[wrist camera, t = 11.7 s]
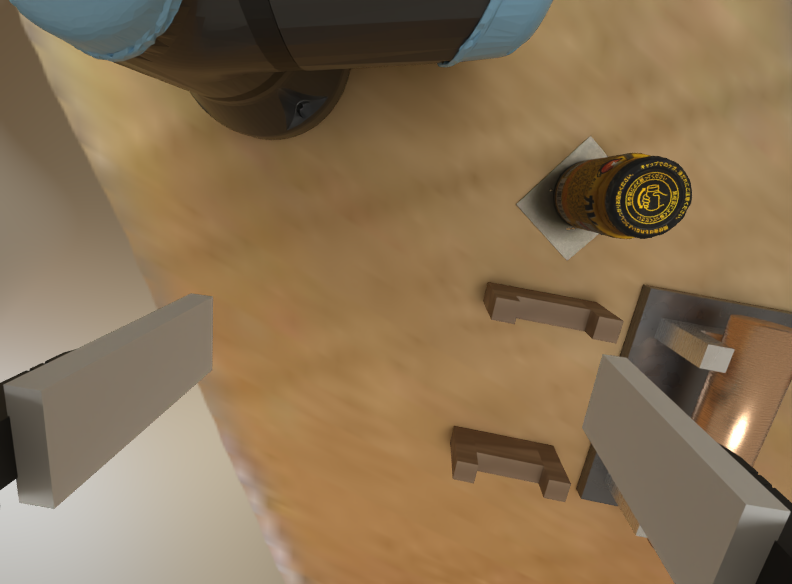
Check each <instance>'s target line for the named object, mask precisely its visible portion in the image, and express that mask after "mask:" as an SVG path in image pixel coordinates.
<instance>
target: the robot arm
mask: <svg viewBox="0 0 792 584" xmlns="http://www.w3.org/2000/svg"><path fill="white" fill-rule="evenodd" d="M9 1H10V2H11V3H12V4H13V5H14V6H16V7H17V9H18V10H19V12H20V13H21V14H22V15H24V16H25V17H26V18H27V19H29V20H30V21H31V22H33V23H34V24H35V25H37V26H39V27H40V28H42V29H43V30H45V31H47V32H49V33H51V34H53V35H55V36H56V37H58V38H60V39H62V40H64V41H65V42H67V43H69V44H71V45H73V46H74V47H75V48H76V49H78V50H81V51H82V52H84V53H85V54H87V55H89V56H92V57H94V58H96V59H102V60H109V61H112V62H114V63H117V64H119V65H122V66H125V67H127V68H130V69H132V70H135V71H138V72H140V73H143V74H145V75H148V76H151V77H153V78H156V79H159V80H161V81H164V82H166V83H169V84H172V85H174V86H177V87H179V88H182V89H185V90H187V91H190V93H191V94H192V96H193V97H194V98H195V100H196V101H197V102H198V104H199V105H200V106H201V107H202V108H203V109H204V110H205V111H206V112H207V113H208V114H209V115H210V116H211V117H213V118H214V119H215V120H217V121H218V122H220V123H221V124H223V125H224V126H226V127H228V128H230V129H232V130H234V131H236V132H239V133H242V134H245V135H248V136H252V137H256V138H260V139H269V140H278V139H286V138H290V137H294V136H297V135H300V134H302V133H304V132H306V131H308V130H310V129H312V128H313V127H314V126H316V125H317V124H319V123H320V122H321V121H322V120H323V119H324V118H325V117H326V116H327V115H328V114H329V113H330V112H331V110H332V109H333V108H334V106H335V105H336V104H337V102H338V100H339V98H340V97H341V95H342V93H343V90H344V88H345V85H346V82H347V79H348V75H349V71H350V68H365V67H382V66H399V65H415V64H432V63H437V64H438V66H439V67H451V66H453V65H455V64H457V63H459V62H463V61H472V60H481V59H491V58H499V57H503V56H506V55H509V54H511V53H513V52H514V51H515V50H516V49H517V48H519V47H520V46H521V45H522V44H523V43H525V42H526V41H527V40H529V39H530V37H531V36H532V35H533V34H534V32H535V31H536V30H537V28H538V27H539V25H540V23H541V22H542V20H543V19H544V17H545V15H546V13H547V11H548V9H549V8H550V5H551V3H552V1H553V0H9ZM212 338H213V297H212V296H205V295H199V294H192V293H191V294H189V295H187V296H185V297H183V298H181V299H179V300H177V301H175V302H172V303H170V304H168V305H166V306H164V307H162V308H160V309H158V310H156V311H154V312H152V313H150V314H148V315H146V316H144V317H142V318H140V319H137V320H135V321H134V322H131V323H129V324H127V325H125V326H123V327H121V328H119V329H117V330H115V331H113V332H111V333H109V334H107V335H104V336H102V337H100V338H98V339H96V340H94V341H92V342H90V343H88V344H86V345H84V346H82V347H80V348H78V349H75V350H72V351H68V352H64V353H62V354H60V355H58V356H56V357H53V358H51V359H49V360H47V361H46V362H45V364H44V363H41V364H39V365H37V366H35V367H33V368H30V371H24V372H22V373H20V374H18V375H16V376H14V377H12V378H10V379H8V380H5V381H3V382H1V383H0V490H1V489H2V488H4V487H5V486H7V485H8V484H9V483H11V482H12V481H13V480H15V479H16V481H17V489H18V496H19V502H20V503H24V504H30V505H35V506H41V507H47V508H53V509H55V508H56V507H57V506H58V505H59V504H60V503H61V502H63V501H64V500H65V499H66V498H67V497H68V496H69V495H70V494H72V493H73V492H74V491H75V490H76V489H77V488H78V487H80V486H81V485H82V484H83V483H84V482H85V481H86V480H88V479H89V478H90V477H91V476H92V475H93V474H94V473H96V472H97V471H98V470H99V469H100V468H101V467H102V466H103V465H104V464H106V463H107V462H108V461H109V460H110V459H111V458H112V457H114V456H115V455H116V454H117V453H118V452H119V451H121V450H122V449H123V448H124V447H125V446H126V445H127V444H129V443H130V442H131V441H132V440H133V439H134V438H135V437H136V436H138V435H139V434H140V433H141V432H142V431H143V430H144V429H146V428H147V427H148V426H149V425H150V424H151V423H152V422H153V421H155V420H156V419H157V418H158V417H159V416H160V415H161V414H163V413H164V412H165V411H166V410H167V409H168V408H169V407H171V406H172V405H173V404H174V403H175V402H176V401H177V400H178V399H179V398H181V397H182V396H183V395H184V394H185V393H187V392H188V391H189V390H190V389H191V388H192V387H193V386H194V385H196V384H197V383H198V382H199V381H200V380H201V379H202V378H204V377H205V376H206V375H207V374H208V373H209V372H210V371H212ZM582 428H583V430H584V432H585V433H586V435H587V437H588V438H589V440H590V442H591V443H592V445H593V447H594V448H595V450H596V452H597V453H598V455H599V457H600V459H601V460H602V462H603V464H604V465H605V467H606V469H607V470H608V472H609V474H610V475H611V477H612V479H613V480H614V482H615V484H616V485H617V487H618V489H619V490H620V492H621V494H622V495H623V497H624V499H625V501H626V502H627V504H628V506H629V507H630V509H631V511H632V512H633V514H634V516H635V517H636V519H637V521H638V522H639V524H640V526H641V527H642V529H643V531H644V532H645V534H646V536H647V538H648V539H649V541H650V543H651V544H652V546H653V548H654V549H655V551H656V553H657V554H658V556H659V558H660V559H661V561H662V563H663V564H664V566H665V568H666V569H667V571H668V573H669V574H670V576H671V578H672V580H673V581H674V583H675V584H792V503H791V502H790V501H789V500H788V499H787V498H786V497H784V496H783V495H782V494H781V493H780V492H779V491H778V490H777V489H776V488H772V485H771V484H770V483H769V482H768V481H767V480H766V479H765V478H764V477H762V476H761V475H758V472H757V471H756V470H755V469H754V468H753V467H752V466H750V465H749V464H748V463H747V462H746V461H745V460H744V459H743V458H742V457H740V456H739V455H737V454H735V453H734V452H732V451H731V450H729V449H727V448H726V447H724V446H723V445H721V444H720V443H717V442H716V441H715V440H714V439H713V438H712V437H711V436H709V435H708V434H707V433H706V432H705V431H704V430H703V429H702V428H701V427H700V426H699V425H698V424H697V423H696V422H695V421H693V420H692V419H691V418H690V417H689V416H688V415H687V414H686V413H685V412H684V411H683V410H682V409H681V408H680V407H679V406H677V405H676V404H675V403H674V402H673V401H672V400H671V399H670V398H669V397H668V396H667V395H666V394H665V393H664V392H662V391H661V390H660V389H659V388H658V387H657V386H656V385H655V384H654V383H653V382H652V381H651V380H650V379H649V378H648V377H646V376H645V375H644V374H643V373H642V372H641V371H640V370H639V369H638V368H637V367H636V366H635V365H634V364H633V363H632V362H630V361H629V360H628V359H627V358H625V357H618V356H611V355H604V354H603V355H602V358H601V362H600V366H599V369H598V373H597V376H596V380H595V383H594V387H593V391H592V394H591V398H590V401H589V405H588V409H587V412H586V416H585V419H584V423H583V426H582Z"/></svg>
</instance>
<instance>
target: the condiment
mask: <svg viewBox="0 0 792 584" xmlns="http://www.w3.org/2000/svg"><path fill="white" fill-rule="evenodd" d="M550 190H552V191H550ZM691 200H692V189H691V183H690V180H689V178H688V176H687V174H686V172H685V171H684V170H683V168H682V167H681V166H680V165H679V164H677V163H676V162H674V161H672V160H669V159H667V158H663V157H660V156H650V155H645V154H642V153H629V154H628V153H627V154H623V155H616V156H610V157H608V156H607V155H606V154H605V152H604V151H603V150H602V149H601V148H600V146H599V145H598V144H597V143H596V142H595V141H594V139H593V138H592V137H591V136H590V137H589V138H588V139H587V140H586V141H585V142H583V143H582V144H581V145H580V146H579V147H578V148H577V149H576V150H575V151H573V152H572V153H571V154H570V155H569V156H568V157H567V158H566V159H565V160H564V161H562V162H561V163H560V164H559V165H558V166H557V167H556V168H555V169H554V170H553V171H552V172H551V173H550V174H549V175H548V176H547V177H545V178H544V179H543V180H542V181H541V182H540V183H539V184H538V185H537V186H535V187H534V188H533V189H532V190H531V191H530V192H529V193H528V194H527V195H526V196H525V197H524V198H523V199H521V200H520V201H519V202H518V203H517V204H516V205H517V206H518V207H519V208H520V209H521V210H522V211H523V213H524V214H525V215H526V216H527V217H528V218H529V219H530V220H531V221H532V222H533V224H534V225H535V226H536V227H537V228H538V229H539V230H540V231H541V232H542V234H543V235H544V236H545V237H546V238H547V239H548V240H549V241H550V242H551V243H552V245H553V246H554V247H555V248H556V249H557V250H558V251H559V252H560V253H561V254H562V256H563V257H564V258H565V259H566V260H568V259H570V258H571V257H572V256H573V255H574V254H576V253H577V252H578V251H579V250H580V249H581V248H583V247H584V246H585V245H586V244H587V243H588V242H590V241H591V240H592V239H593V238H595V236H597V235H598V234H601V235H606V236H609V237H613V238H620V239H632V238H636V237H637V238H640V239H646V238H652V237H654V236H657V235H662V234H664V233H666V232H667V231H669V230H670V229H671V228H673V227H674V226H676V224H677V223H679V222H680V221H681V220H682V219H683V218H684V216H685V213H686V211H687V209H688V207H689V206H690V204H691ZM572 227H574V228H575V230H574V229H571V230H566V228H572Z"/></svg>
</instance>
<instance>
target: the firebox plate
mask: <svg viewBox="0 0 792 584" xmlns="http://www.w3.org/2000/svg"><path fill="white" fill-rule="evenodd" d="M730 315H743V316H748V317H753V318H757V319H762V320H766V321H770V322H773V323H777V324H780V325H784V326H787V327H790V328H792V312H788V311H783V310H778V309H772V308H767V307H761V306H756V305H751V304H745V303H740V302H734V301H729V300H724V299H718V298H713V297H707V296H702V295H697V294H691V293H686V292H680V291H675V290H670V289H664V288H659V287H653V286H648V285H643V288H642V291H641V294H640V297H639V300H638V303H637V306H636V309H635V312H634V315H633V318H632V321H631V324H630V327H629V330H628V333H627V336H626V339H625V342H624V345H623V348H622V352H621V355H620V357H625V358H627V359H628V360H629V361H630V362H632V363H633V364H634V365H635V366H636V367H637V368H638V369H639V370H640V371H641V372H642V373H643V374H644V375H645V376H646V377H648V378H649V379H650V380H651V381H652V382H653V383H654V384H655V385H656V386H657V387H658V388H659V389H660V390H661V391H662V392H664V393H665V394H666V395H667V396H668V397H669V398H670V399H671V400H672V401H673V402H674V403H675V404H676V405H677V406H679V407H680V408H681V409H682V410H683V411H684V412H685V413H686V414H687V415H688V416H689V417H690V418H691V416H692V413H693V411H694V408H695V405H696V403H697V400H698V398H699V395H700V393H701V390H702V387H703V385H704V382H705V380H706V377H707V375H708V372H709V370H712V371H717V372H722V373H726V370H727V368H728V365H729V363H730V360H731V358H732V355H733V353H734V350H735V349H733V348H731V347H729V346H728V345H726V344H724V343H722V342H720V341H721V339H722V336H723V333H724V331H725V328H726V326H727V323H728V321H729V318H730ZM577 491H578V493H579V495H580V498H581V499H585V500H590V501H595V502H600V503H604V504H609V505H614V506H619V508H620V509H621V511H622V513H623V515H624V516H625V518H626V520H627V521H628V523H629V525H630V527H631V528H632V530H633V532H634V533H635V535H636V536H641V537H646V538H647V536H646V534H645V532H644V531H643V529H642V527H641V526H640V524H639V522H638V521H637V519H636V517H635V516H634V514H633V512H632V511H631V509H630V507H629V506H628V504H627V502H626V501H625V499H624V497H623V495H622V494H621V492H620V490H619V489H618V487H617V485H616V484H615V482H614V480H613V479H612V477H611V475H610V474H609V472H608V470H607V469H606V467H605V465H604V464H603V462H602V460H601V459H600V457H599V455H598V453H597V452H596V450H595V448H594V447H593V445H592V443H591V446H590V449H589V452H588V455H587V458H586V461H585V464H584V467H583V470H582V473H581V476H580V479H579V483H578V486H577Z"/></svg>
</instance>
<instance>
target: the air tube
mask: <svg viewBox="0 0 792 584" xmlns="http://www.w3.org/2000/svg"><path fill="white" fill-rule="evenodd" d="M720 342H722V343H724V344H726V345H728V346H729V347H731V348H733V349H735V350H734V353H733V355H732V358H731V360H730V363H729V365H728V368H727V370H726V373H722V372H717V371H712V370H709V372H708V375H707V377H706V380H705V382H704V385H703V387H702V390H701V393H700V395H699V398H698V400H697V403H696V405H695V408H694V411H693V413H692V416H691V419H692V420H693V421H695V422H696V423H697V424H698V425H699V426H700V427H701V428H702V429H703V430H704V431H705V432H706V433H707V434H708V435H709V436H711V437H712V438H713V439H714V440H715V441H716V442H717V443H720V444H721V445H723V446H724V447H726V448H727V449H729V450H731V451H732V452H734V453H735V454H737V455H739V456H740V457H742V458H743V459H744V460H745V461H746V462H747V463H748V464H749V465H750V466H752V467H753V465H754V463H755V461H756V459H757V456H758V454H759V452H760V450H761V447H762V445H763V443H764V441H765V438H766V436H767V434H768V432H769V429H770V427H771V425H772V423H773V420H774V418H775V416H776V414H777V411H778V409H779V407H780V405H781V402H782V400H783V398H784V396H785V393H786V391H787V389H788V387H789V384H790V382H791V380H792V328H790V327H787V326H784V325H780V324H777V323H773V322H770V321H766V320H762V319H757V318H753V317H748V316H743V315H730V318H729V321H728V323H727V326H726V328H725V331H724V333H723V336H722V339H721V341H720ZM647 539H648V538H647ZM648 541H649V539H648ZM649 543H650V541H649ZM650 544H651V543H650ZM651 546H652V544H651ZM652 547H653V546H652Z"/></svg>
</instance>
